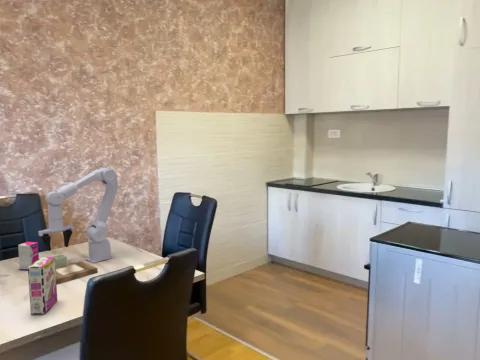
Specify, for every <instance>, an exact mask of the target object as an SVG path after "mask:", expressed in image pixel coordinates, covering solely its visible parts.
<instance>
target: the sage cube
mask: <svg viewBox="0 0 480 360" xmlns="http://www.w3.org/2000/svg"><path fill="white" fill-rule="evenodd" d="M53 257H55V267H56V268H58V267H62V266H66V265H68V258H67V256H65V255H63V254H59V255H55V256H53Z"/></svg>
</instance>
